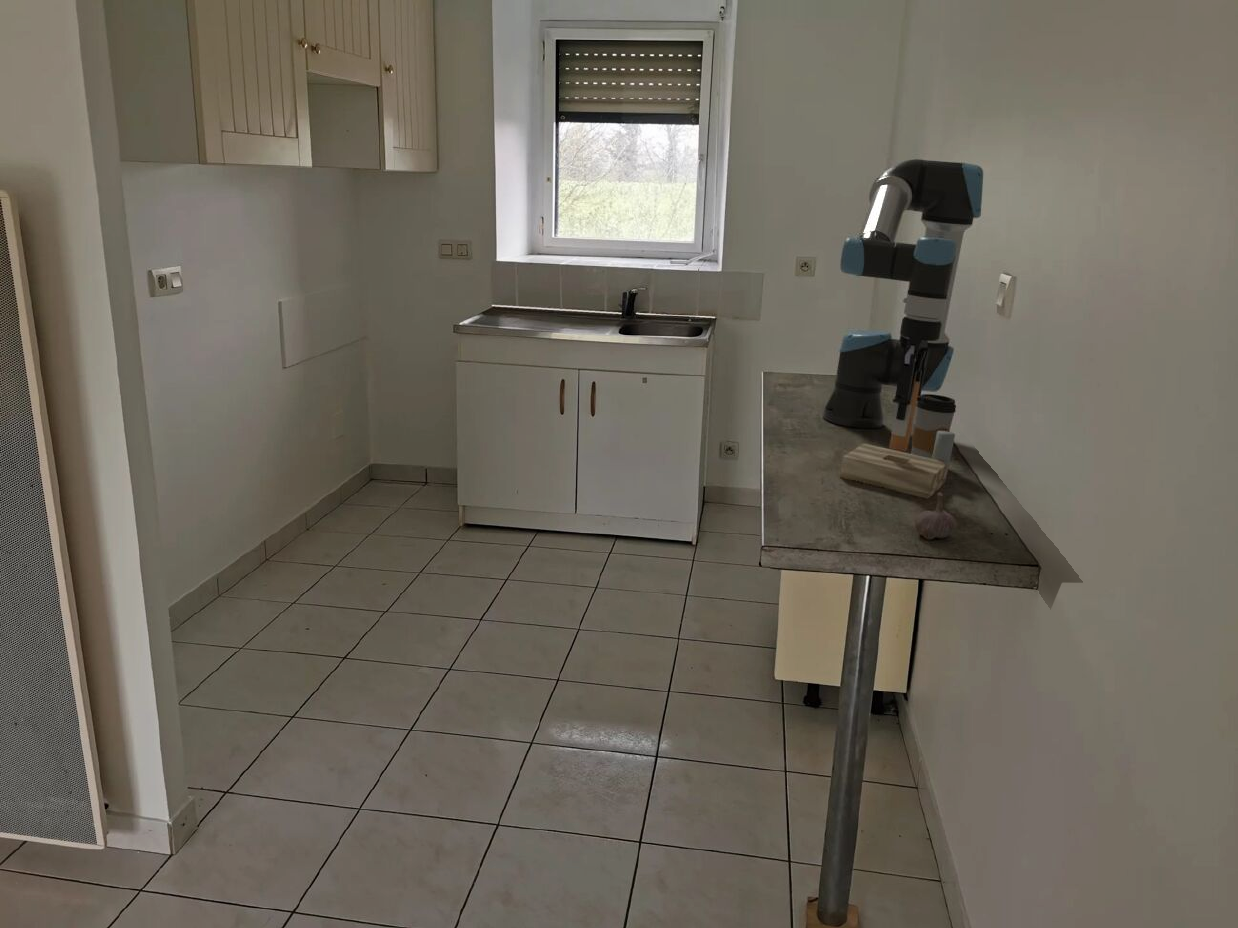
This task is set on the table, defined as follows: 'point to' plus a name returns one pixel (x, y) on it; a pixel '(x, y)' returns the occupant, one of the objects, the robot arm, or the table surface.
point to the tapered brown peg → (900, 441)
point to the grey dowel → (943, 446)
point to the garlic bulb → (935, 522)
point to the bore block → (894, 470)
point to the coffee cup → (931, 422)
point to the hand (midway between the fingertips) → (901, 433)
